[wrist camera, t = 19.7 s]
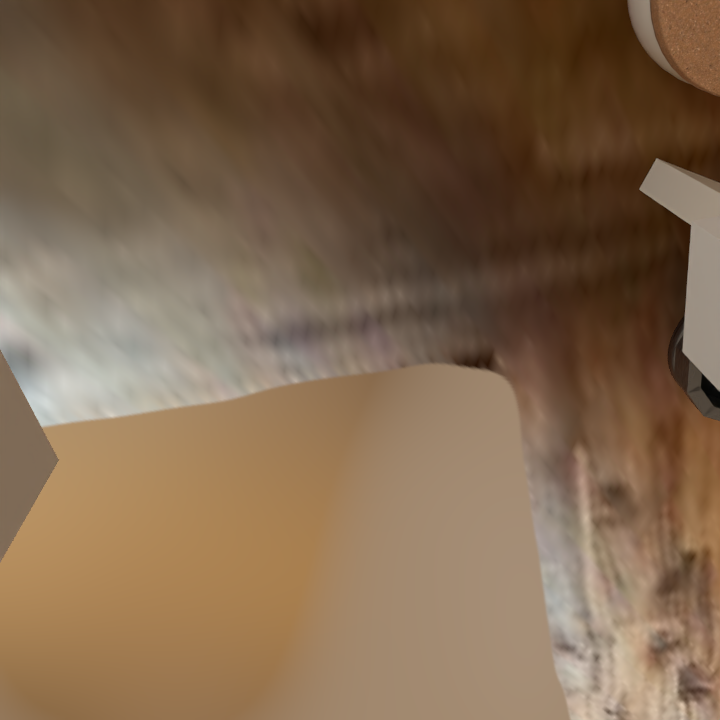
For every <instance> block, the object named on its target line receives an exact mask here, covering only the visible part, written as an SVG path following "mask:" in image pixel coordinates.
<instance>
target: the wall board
mask: <svg viewBox="0 0 720 720" xmlns="http://www.w3.org/2000/svg"><path fill="white" fill-rule="evenodd" d="M639 190H640V191H642V192H643V193H645V194H646V195H648V196H649V197H651V198H652V199H654V200H655V201H656V202H658V203H659V204H661V205H662V206H664V207H665V208H667V209H668V210H670V211H671V212H672V213H674V214H675V215H677V216H678V217H680V218H681V219H683V220H684V221H686V222H687V223H688V224H690V225H691V222H692V221H694V220H699V219H705V218H710V217H716V216H720V183H719V182H716V181H714V180H711V179H709V178H706V177H703V176H701V175H698V174H696V173H693V172H691V171H688V170H685V169H683V168H680V167H678V166H675V165H673V164H670V163H667V162H665V161H662V160H660V159H657V158H656V160H655V162H654V164H653V165H652V167H651V169H650V171H649V173H648V174H647V176H646V178H645V180H644V182H643V183H642V185H641V187H640V189H639Z"/></svg>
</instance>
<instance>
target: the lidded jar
mask: <svg viewBox="0 0 720 720" xmlns="http://www.w3.org/2000/svg"><path fill="white" fill-rule="evenodd" d="M627 1H628V11H629V15H630V19H631V23H632V27H633V29H634V32H635V34H636V36H637V39H638V40H639V42H640V43H641V45H642V46H643V48H644V49H645V51H646V52H647V54H648V55H649V56H650V57H651V58H652V59H653V60H654V61H655V62H656V63H657V64H658V65H659V66H660V67H661V68H663V69H664V70H666V71H667V72H668V73H670V74H671V75H673V76H674V77H676V78H677V79H679V80H681V81H684V82H686V83H689V84H691V85H693V86H694V87H696V88H698V89H700V90H703V91H705V92H707V93H710V94H712V95H715V96H719V97H720V0H627Z"/></svg>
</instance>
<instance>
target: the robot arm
mask: <svg viewBox="0 0 720 720" xmlns="http://www.w3.org/2000/svg"><path fill="white" fill-rule="evenodd" d="M682 352H683V353H684V354H685V355H686V356H687V357H688V358H689V360H690V361H691V362H692V363H693V364H694V365H695V366H696V367H697V368H698V369H699V370H700V371H701V372H702V373H703V374H704V376H705V377H706V378H707V379H708V380H709V381H710V382H711V383H712V384H713V385H714V386H715V387H716V388H717V389H718V390H719V392H720V216H716V217H710V218H705V219H699V220H694V221H692V222H691V236H690V250H689V264H688V278H687V292H686V306H685V320H684V334H683V348H682ZM57 462H58V458H57V456H56V454H55V452H54V450H53V448H52V447H51V445H50V443H49V441H48V439H47V437H46V435H45V433H44V432H43V429H42V428H41V426H40V424H39V422H38V420H37V418H36V416H35V414H34V412H33V411H32V409H31V407H30V405H29V403H28V401H27V399H26V397H25V396H24V394H23V392H22V390H21V388H20V386H19V384H18V382H17V380H16V379H15V377H14V375H13V373H12V371H11V369H10V367H9V365H8V363H7V362H6V360H5V358H4V356H3V354H2V352H1V350H0V562H1V560H2V558H3V557H4V555H5V553H6V551H7V549H8V548H9V546H10V544H11V543H12V541H13V539H14V537H15V536H16V534H17V532H18V530H19V529H20V527H21V525H22V523H23V522H24V520H25V518H26V516H27V515H28V513H29V511H30V509H31V507H32V506H33V504H34V502H35V500H36V499H37V497H38V495H39V494H40V492H41V490H42V488H43V487H44V485H45V483H46V481H47V480H48V478H49V476H50V474H51V473H52V471H53V469H54V467H55V466H56V464H57Z"/></svg>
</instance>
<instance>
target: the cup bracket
mask: <svg viewBox="0 0 720 720" xmlns="http://www.w3.org/2000/svg"><path fill="white" fill-rule="evenodd" d="M684 320H685V315H684V317H683V318H682V319H681V321H680V322H679V324H678V325H677V327H676V329H675V330H674V333H673V335H672V337H671V340H670V344H669V349H668V365H669V369H670V372H671V375H672V376H673V378H674V380H675V381H676V382H677V383H678V385H679V386H680V387H681V388H682V389H683V391H684V392H685V394H686V395H687V396H688V398H689V399H690V400H691V402H692V403H693V404H694V405H695V406H696V408H697V409H698V410H699V411H700V412H701V413H702V415H703V416H705V417H708V418H712V419H715V420H718V421H720V392H719V390H718V389H717V388H716V387H715V386H714V385H713V384H712V383H711V382H710V381H709V380H708V379H707V378H706V377H705V376H704V374H703V373H702V372H701V371H700V370H699V369H698V368H697V367H696V366H695V365H694V364H693V363H692V362H691V361H690V360H689V358H688V357H687V356H686V355H685V354H684V353H683V352H682V348H683V334H684Z"/></svg>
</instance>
